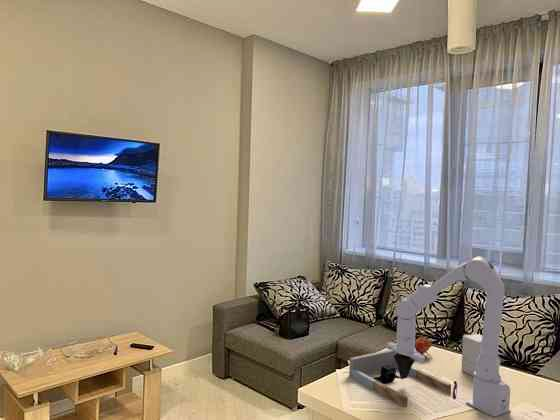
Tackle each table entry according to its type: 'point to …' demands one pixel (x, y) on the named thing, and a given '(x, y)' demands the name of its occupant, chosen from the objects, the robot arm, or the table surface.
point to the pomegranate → (422, 345)
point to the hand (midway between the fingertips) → (403, 377)
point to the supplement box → (470, 352)
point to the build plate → (388, 375)
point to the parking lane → (375, 363)
